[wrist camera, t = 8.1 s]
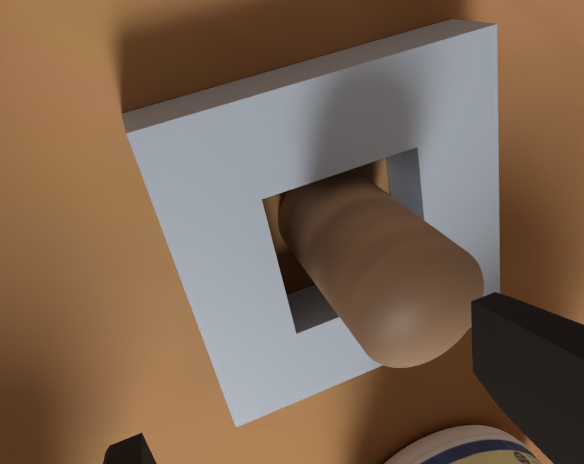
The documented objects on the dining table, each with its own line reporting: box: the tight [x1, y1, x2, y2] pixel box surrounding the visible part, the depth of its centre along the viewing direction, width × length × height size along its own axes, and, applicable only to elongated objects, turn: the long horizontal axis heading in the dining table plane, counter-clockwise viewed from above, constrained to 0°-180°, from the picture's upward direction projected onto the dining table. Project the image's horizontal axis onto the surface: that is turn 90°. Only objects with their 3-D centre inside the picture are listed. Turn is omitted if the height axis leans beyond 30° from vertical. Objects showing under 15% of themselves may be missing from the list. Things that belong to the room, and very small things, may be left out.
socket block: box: [122, 19, 500, 427], centre depth 20 cm, size 12×12×2 cm
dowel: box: [278, 169, 484, 368], centre depth 18 cm, size 4×4×7 cm
